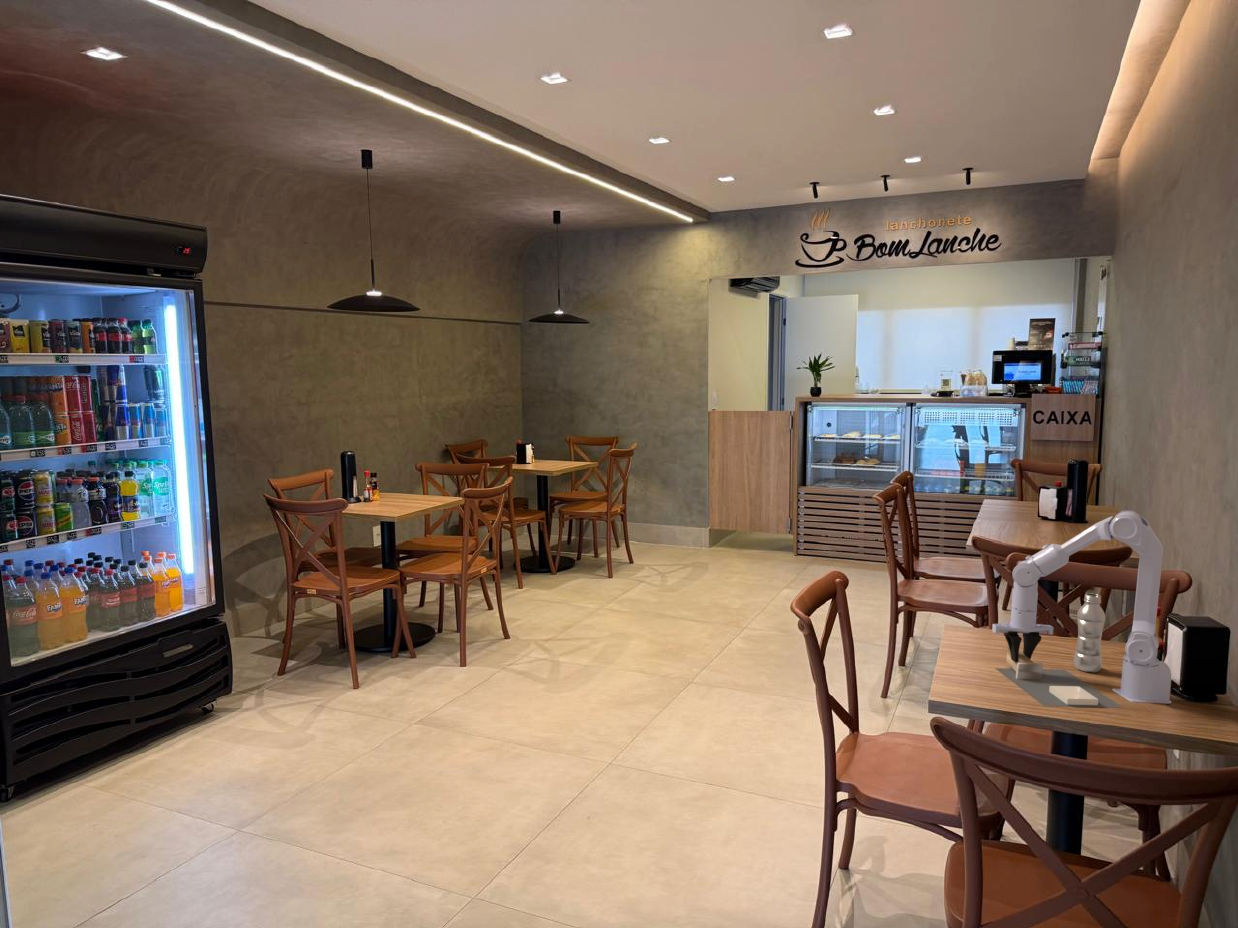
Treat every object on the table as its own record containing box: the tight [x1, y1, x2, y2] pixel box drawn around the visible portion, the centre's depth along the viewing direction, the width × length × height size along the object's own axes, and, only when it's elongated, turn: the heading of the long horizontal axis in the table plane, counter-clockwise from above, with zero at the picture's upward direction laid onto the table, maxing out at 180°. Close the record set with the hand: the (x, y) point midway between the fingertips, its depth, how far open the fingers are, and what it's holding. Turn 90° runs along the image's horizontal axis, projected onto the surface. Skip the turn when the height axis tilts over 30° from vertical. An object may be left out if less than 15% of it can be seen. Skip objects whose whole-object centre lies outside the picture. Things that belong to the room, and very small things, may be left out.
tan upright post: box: [1005, 647, 1044, 680], centre depth 210 cm, size 6×10×4 cm, turn 0°
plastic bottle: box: [1073, 592, 1106, 673], centre depth 213 cm, size 6×7×20 cm
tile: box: [1049, 686, 1098, 706], centre depth 193 cm, size 7×2×8 cm
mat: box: [994, 667, 1124, 709], centre depth 201 cm, size 18×25×1 cm
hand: (1020, 660), depth 210 cm, fingers closed on tan upright post, 2 cm apart
